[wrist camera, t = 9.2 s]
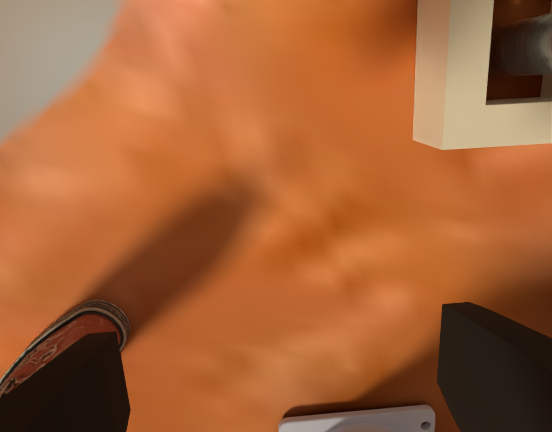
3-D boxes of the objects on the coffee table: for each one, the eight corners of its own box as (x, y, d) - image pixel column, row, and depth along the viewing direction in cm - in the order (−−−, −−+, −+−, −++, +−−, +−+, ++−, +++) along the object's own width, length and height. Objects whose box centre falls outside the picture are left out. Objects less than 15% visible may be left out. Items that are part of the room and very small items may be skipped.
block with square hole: (569, 130, 20) (624, 138, 17) (412, 139, 19) (442, 149, 16) (593, -50, 18) (661, -75, 15) (419, -43, 17) (454, -68, 14)
